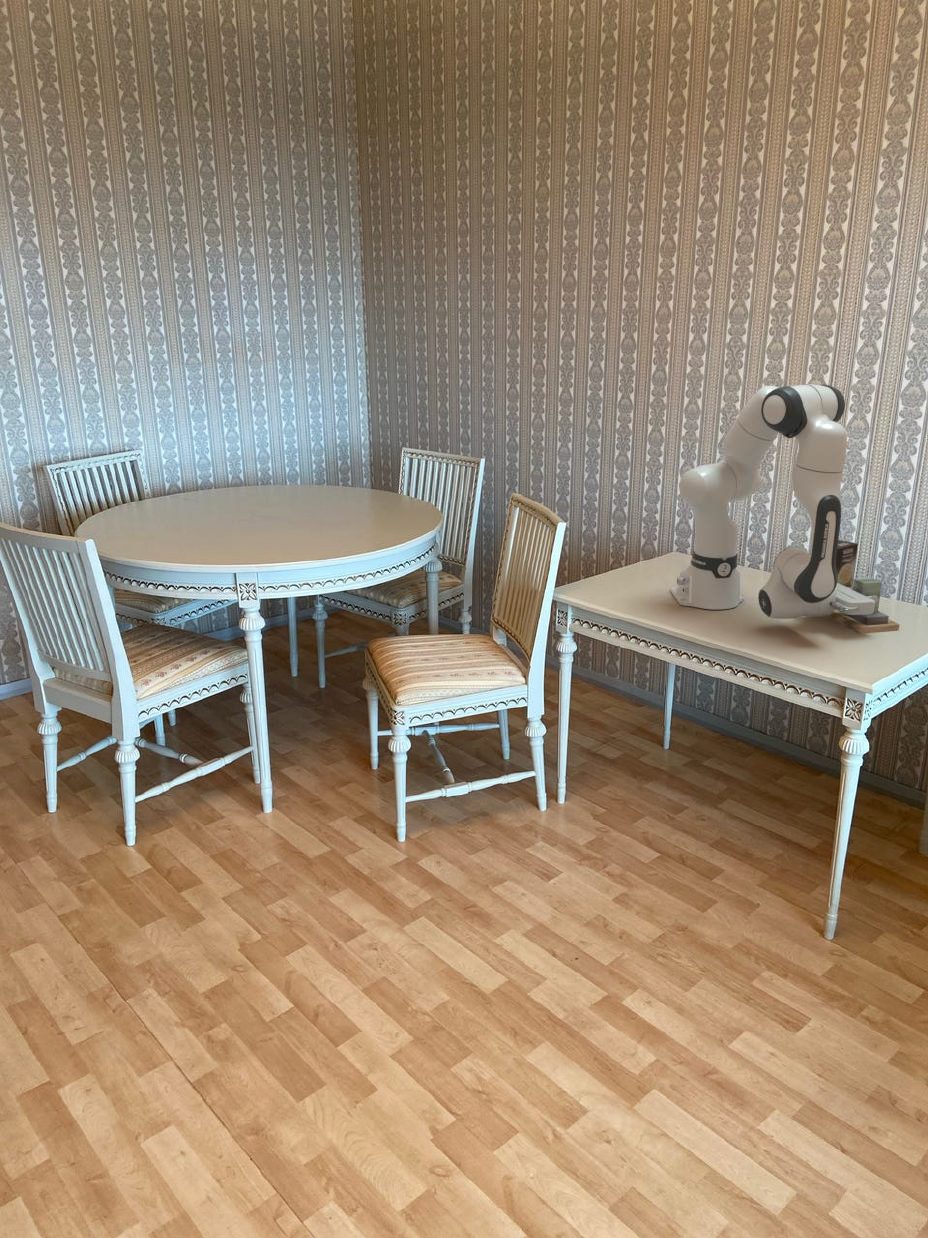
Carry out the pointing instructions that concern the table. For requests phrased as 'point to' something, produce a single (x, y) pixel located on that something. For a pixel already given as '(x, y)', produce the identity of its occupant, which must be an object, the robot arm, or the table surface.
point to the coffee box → (846, 562)
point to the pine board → (860, 626)
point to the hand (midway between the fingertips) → (869, 595)
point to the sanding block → (866, 588)
